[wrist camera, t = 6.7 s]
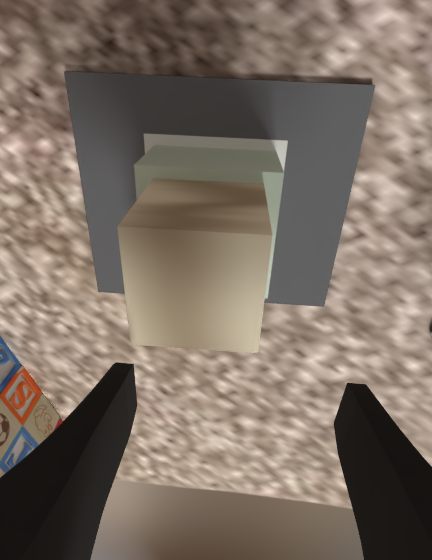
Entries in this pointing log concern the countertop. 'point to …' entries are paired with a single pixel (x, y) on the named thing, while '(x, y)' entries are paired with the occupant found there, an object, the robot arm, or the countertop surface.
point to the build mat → (232, 135)
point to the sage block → (216, 173)
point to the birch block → (196, 264)
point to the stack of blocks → (21, 412)
